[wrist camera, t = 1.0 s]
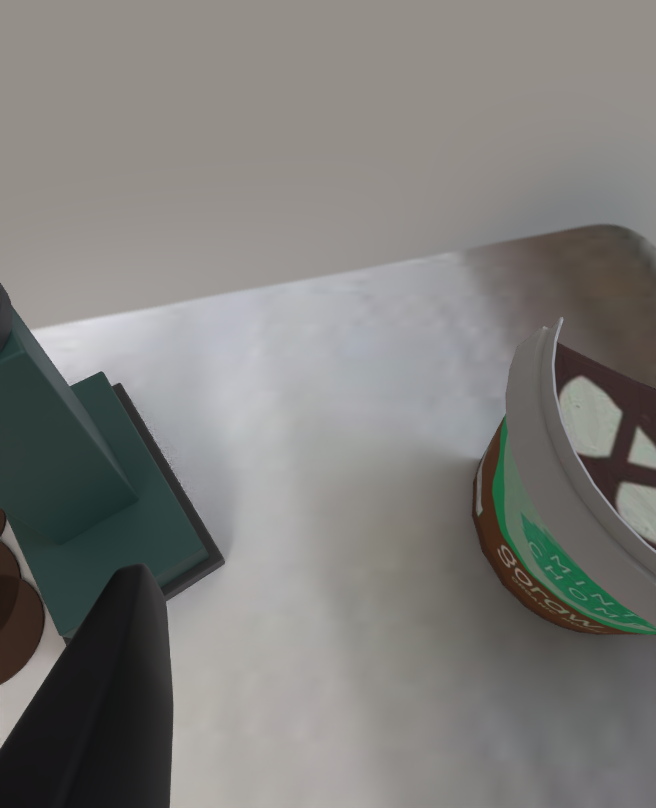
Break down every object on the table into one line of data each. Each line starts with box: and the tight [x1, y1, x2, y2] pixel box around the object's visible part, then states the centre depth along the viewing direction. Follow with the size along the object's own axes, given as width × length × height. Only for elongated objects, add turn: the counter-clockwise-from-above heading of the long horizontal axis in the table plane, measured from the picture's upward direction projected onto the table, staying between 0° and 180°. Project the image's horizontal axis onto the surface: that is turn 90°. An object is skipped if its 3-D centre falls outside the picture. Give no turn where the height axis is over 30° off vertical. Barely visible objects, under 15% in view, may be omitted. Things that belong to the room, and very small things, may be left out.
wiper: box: [0, 283, 225, 646], centre depth 17 cm, size 9×6×13 cm, turn 34°
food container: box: [472, 317, 656, 634], centre depth 18 cm, size 12×6×10 cm, turn 60°
